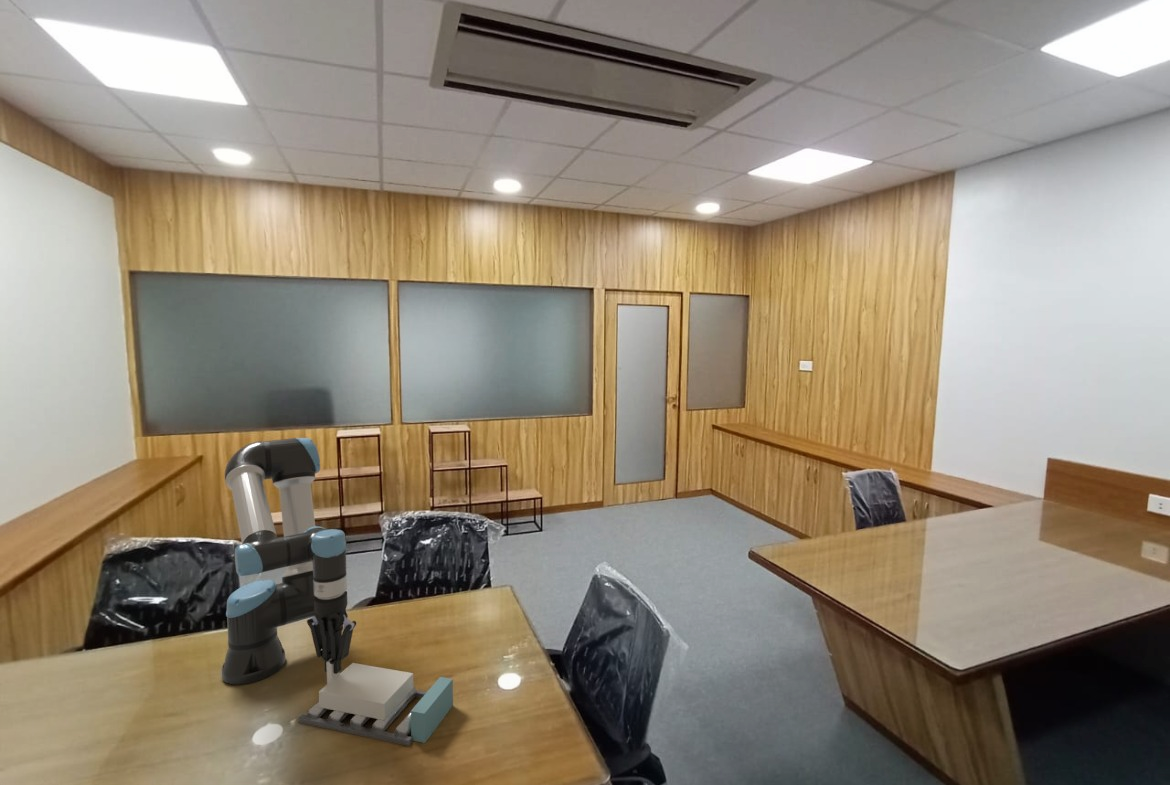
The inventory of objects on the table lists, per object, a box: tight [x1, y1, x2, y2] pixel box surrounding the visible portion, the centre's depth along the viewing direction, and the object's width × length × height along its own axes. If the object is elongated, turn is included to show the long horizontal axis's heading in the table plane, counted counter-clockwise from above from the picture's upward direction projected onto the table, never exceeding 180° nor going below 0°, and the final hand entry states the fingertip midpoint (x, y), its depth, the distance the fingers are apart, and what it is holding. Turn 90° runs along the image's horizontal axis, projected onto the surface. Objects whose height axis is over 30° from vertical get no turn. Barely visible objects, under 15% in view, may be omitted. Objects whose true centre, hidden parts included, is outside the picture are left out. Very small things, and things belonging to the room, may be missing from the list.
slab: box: [318, 662, 415, 720], centre depth 128 cm, size 18×12×4 cm, turn 76°
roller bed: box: [297, 686, 428, 747], centre depth 128 cm, size 16×30×3 cm, turn 76°
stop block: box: [410, 676, 454, 744], centre depth 124 cm, size 4×13×7 cm, turn 166°
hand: (333, 684), depth 130 cm, fingers closed
